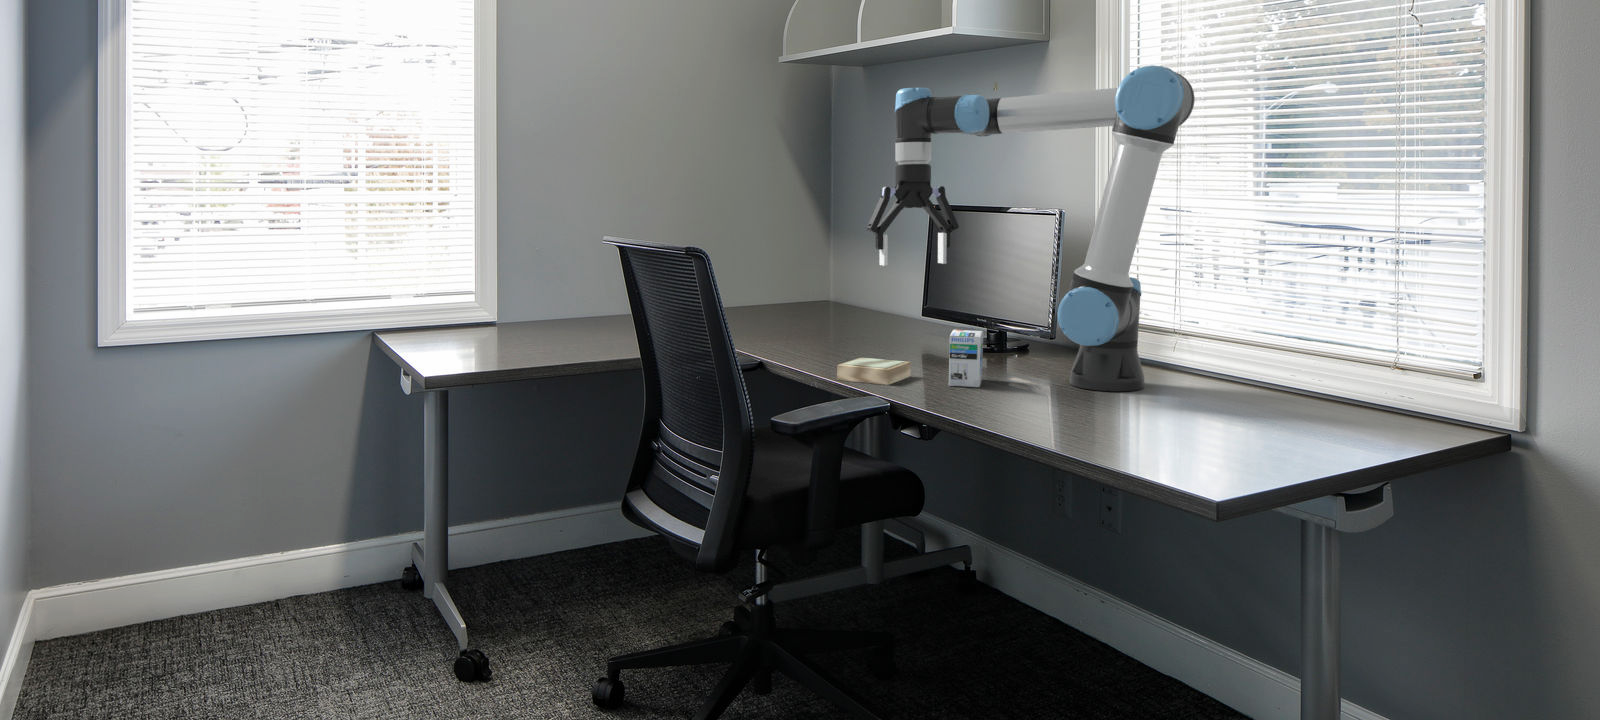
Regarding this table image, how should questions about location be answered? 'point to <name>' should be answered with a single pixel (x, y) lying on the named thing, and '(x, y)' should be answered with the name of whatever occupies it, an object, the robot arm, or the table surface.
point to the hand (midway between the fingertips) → (913, 264)
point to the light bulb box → (965, 358)
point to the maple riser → (874, 371)
